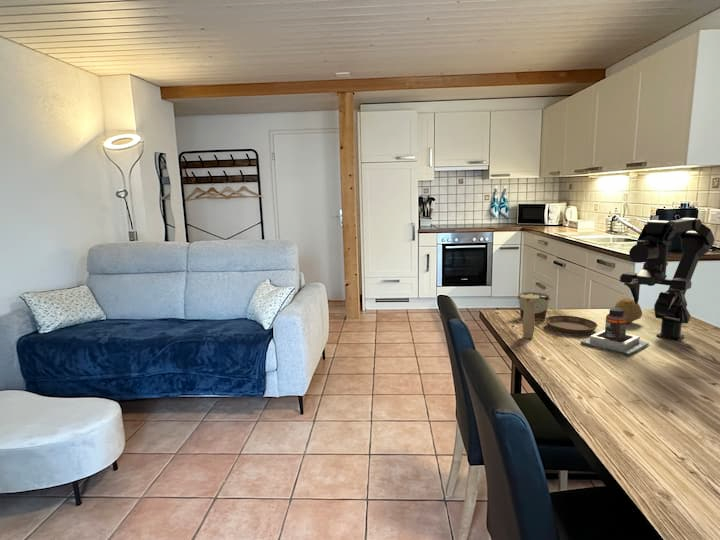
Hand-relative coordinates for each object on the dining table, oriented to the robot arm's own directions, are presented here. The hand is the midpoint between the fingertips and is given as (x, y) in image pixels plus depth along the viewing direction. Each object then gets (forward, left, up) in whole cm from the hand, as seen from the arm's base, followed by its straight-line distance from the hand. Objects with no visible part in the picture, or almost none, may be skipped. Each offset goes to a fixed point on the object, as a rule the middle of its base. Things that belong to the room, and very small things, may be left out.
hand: (651, 306), depth 143 cm
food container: (-1, -43, -13) cm, 45 cm away
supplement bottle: (+9, -7, -12) cm, 17 cm away
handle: (+23, -30, -13) cm, 40 cm away
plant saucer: (+3, -25, -14) cm, 29 cm away
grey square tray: (+9, -7, -13) cm, 17 cm away
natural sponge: (-20, -15, -13) cm, 28 cm away
